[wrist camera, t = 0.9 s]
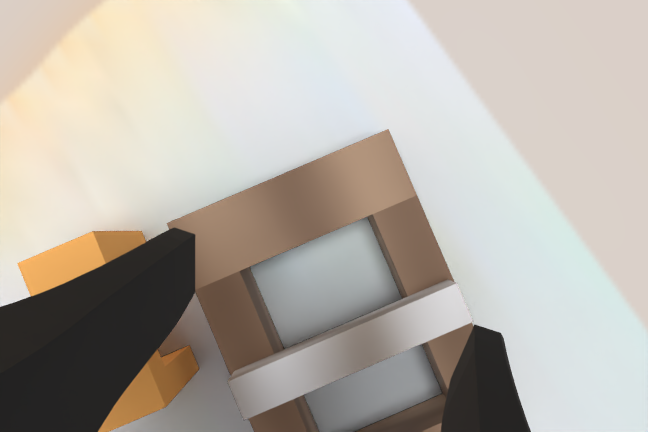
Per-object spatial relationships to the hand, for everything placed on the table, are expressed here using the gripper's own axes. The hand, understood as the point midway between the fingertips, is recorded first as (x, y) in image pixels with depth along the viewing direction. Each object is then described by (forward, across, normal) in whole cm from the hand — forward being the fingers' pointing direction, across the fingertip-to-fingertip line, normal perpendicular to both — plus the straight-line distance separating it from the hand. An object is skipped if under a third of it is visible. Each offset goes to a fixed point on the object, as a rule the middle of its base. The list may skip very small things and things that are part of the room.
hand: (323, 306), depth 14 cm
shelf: (+8, 0, +9) cm, 12 cm away
